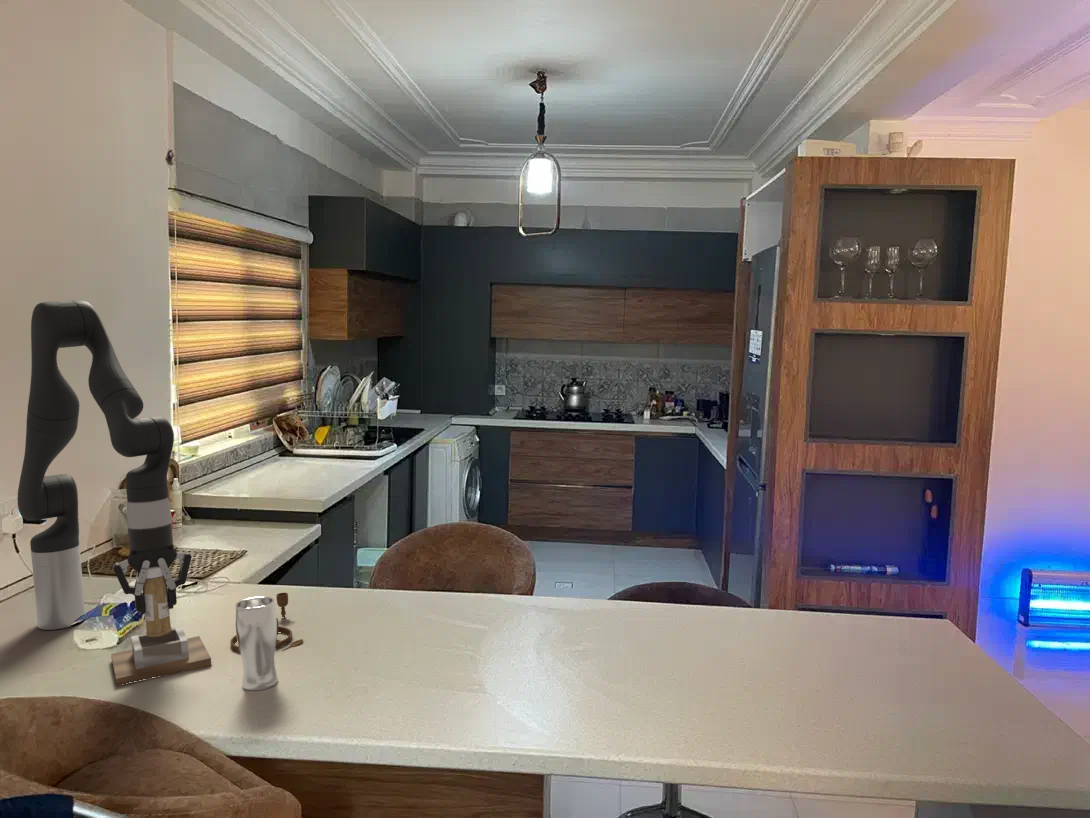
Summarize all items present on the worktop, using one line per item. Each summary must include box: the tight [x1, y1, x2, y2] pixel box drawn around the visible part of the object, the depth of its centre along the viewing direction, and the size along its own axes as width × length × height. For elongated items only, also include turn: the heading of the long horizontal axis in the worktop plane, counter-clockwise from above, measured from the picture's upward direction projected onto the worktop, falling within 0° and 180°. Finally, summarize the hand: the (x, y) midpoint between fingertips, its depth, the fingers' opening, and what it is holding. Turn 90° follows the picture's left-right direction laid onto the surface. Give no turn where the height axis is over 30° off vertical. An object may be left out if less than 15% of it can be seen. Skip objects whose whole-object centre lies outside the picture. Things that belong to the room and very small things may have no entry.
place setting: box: [229, 592, 304, 653], centre depth 170 cm, size 18×20×6 cm
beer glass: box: [234, 596, 279, 691], centre depth 145 cm, size 7×7×15 cm
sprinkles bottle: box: [142, 566, 172, 637], centre depth 156 cm, size 5×5×13 cm
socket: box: [110, 626, 212, 687], centre depth 157 cm, size 14×16×5 cm
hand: (156, 609), depth 156 cm, fingers closed on sprinkles bottle, 4 cm apart
